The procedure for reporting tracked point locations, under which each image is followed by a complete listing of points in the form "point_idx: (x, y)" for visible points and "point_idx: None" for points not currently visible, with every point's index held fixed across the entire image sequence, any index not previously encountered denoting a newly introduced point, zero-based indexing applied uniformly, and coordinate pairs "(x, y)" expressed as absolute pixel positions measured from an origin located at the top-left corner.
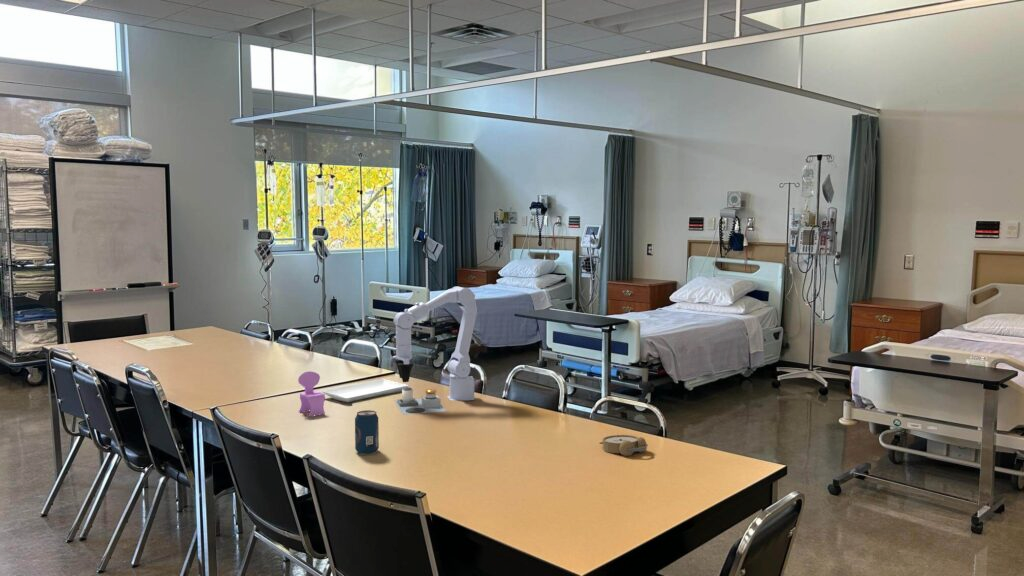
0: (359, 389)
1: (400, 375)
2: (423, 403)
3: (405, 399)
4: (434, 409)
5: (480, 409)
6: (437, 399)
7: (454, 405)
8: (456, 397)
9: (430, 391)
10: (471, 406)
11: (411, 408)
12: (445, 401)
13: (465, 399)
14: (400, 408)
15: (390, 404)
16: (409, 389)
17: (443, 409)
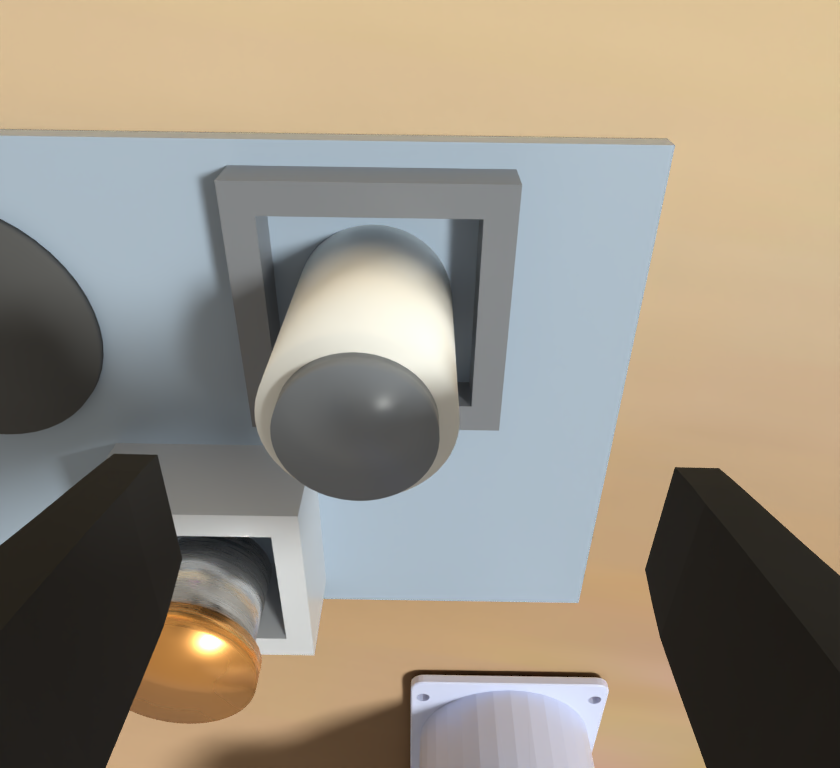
0: None
1: (702, 529)
2: (174, 470)
3: (294, 297)
4: None
5: (106, 765)
6: None
7: (273, 667)
8: (431, 735)
9: None
10: (214, 743)
11: (48, 300)
12: (453, 640)
13: (411, 759)
14: (110, 153)
15: (539, 46)
16: (279, 453)
17: None
